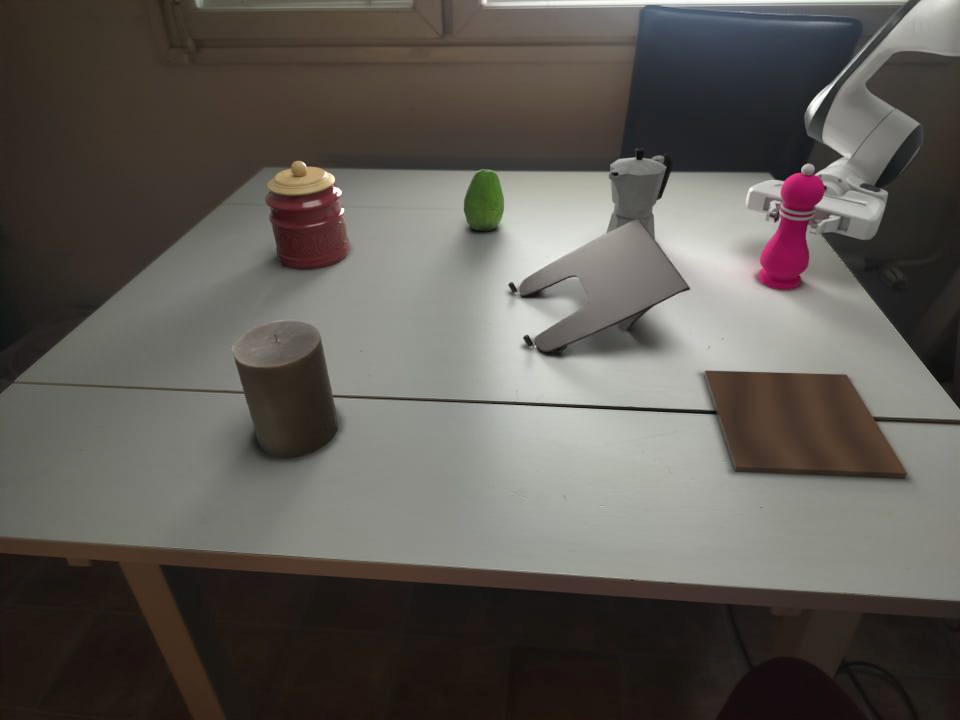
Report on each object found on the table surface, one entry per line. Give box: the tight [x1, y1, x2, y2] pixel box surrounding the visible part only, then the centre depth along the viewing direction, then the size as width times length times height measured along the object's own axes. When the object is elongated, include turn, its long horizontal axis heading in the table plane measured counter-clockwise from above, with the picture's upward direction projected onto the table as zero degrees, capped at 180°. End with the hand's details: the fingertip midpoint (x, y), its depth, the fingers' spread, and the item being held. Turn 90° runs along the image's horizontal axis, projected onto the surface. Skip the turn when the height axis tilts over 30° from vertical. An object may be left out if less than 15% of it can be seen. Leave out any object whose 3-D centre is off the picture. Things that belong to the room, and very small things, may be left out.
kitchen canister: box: [264, 160, 351, 270], centre depth 117 cm, size 13×13×18 cm
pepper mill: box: [758, 163, 825, 291], centre depth 104 cm, size 7×7×20 cm
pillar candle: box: [230, 318, 340, 459], centre depth 77 cm, size 10×10×15 cm
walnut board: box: [703, 370, 908, 479], centre depth 80 cm, size 18×18×2 cm
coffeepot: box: [605, 147, 674, 241], centre depth 117 cm, size 15×9×18 cm, turn 126°
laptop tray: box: [507, 218, 691, 355], centre depth 100 cm, size 23×23×9 cm
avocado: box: [463, 168, 505, 232], centre depth 126 cm, size 8×8×12 cm
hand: (792, 223), depth 103 cm, fingers open, 5 cm apart
